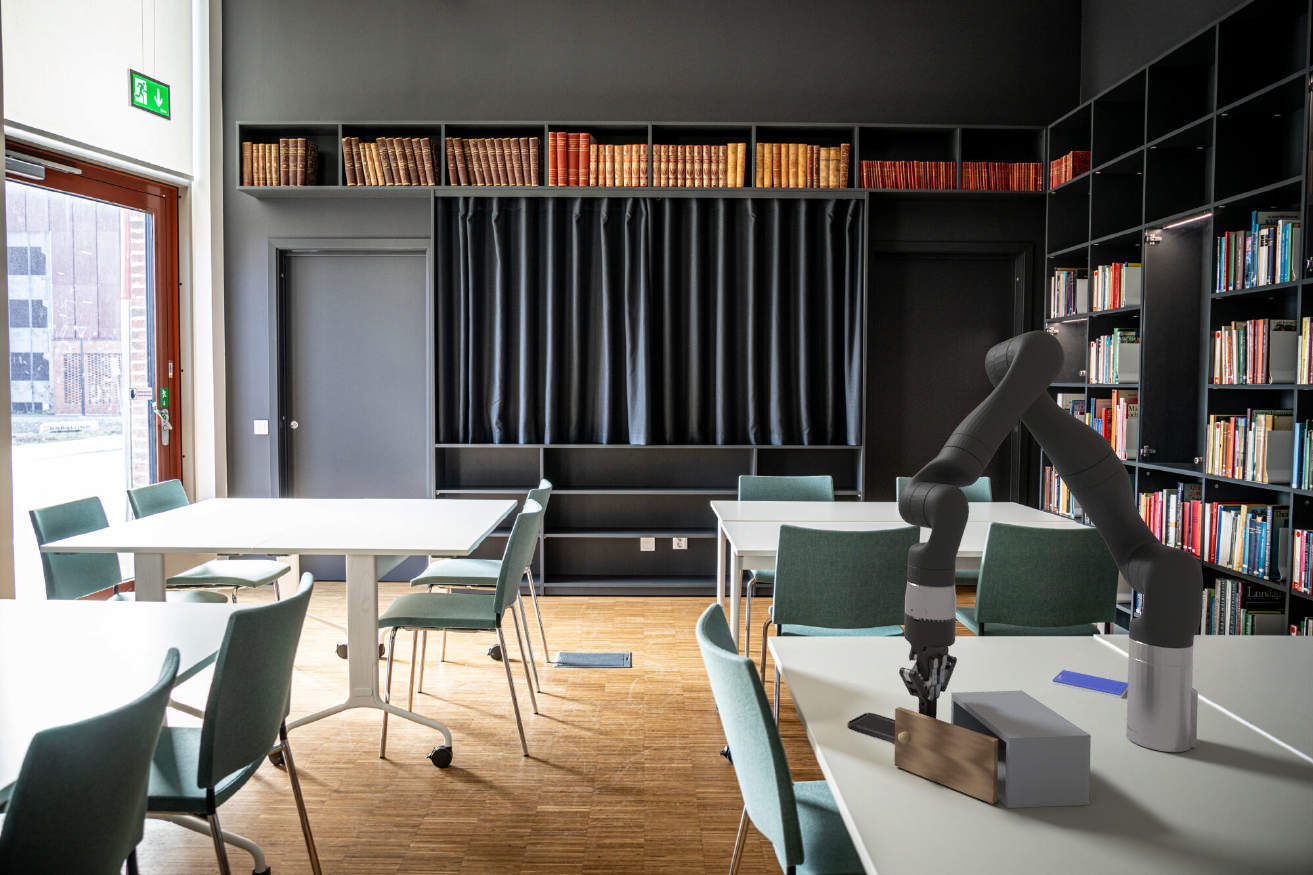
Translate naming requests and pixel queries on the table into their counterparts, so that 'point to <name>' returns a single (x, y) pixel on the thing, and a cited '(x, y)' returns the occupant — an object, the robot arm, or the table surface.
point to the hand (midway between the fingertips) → (927, 721)
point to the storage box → (1029, 748)
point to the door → (947, 754)
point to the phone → (874, 726)
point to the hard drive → (1091, 683)
